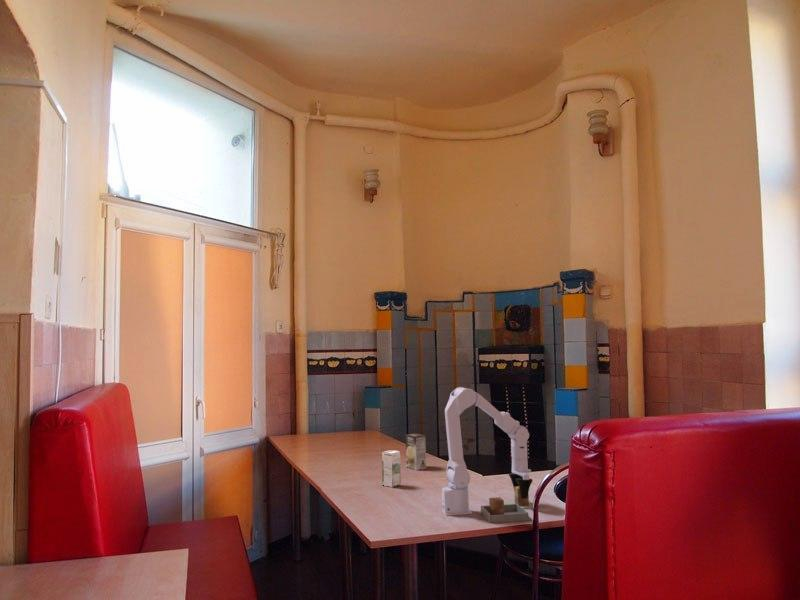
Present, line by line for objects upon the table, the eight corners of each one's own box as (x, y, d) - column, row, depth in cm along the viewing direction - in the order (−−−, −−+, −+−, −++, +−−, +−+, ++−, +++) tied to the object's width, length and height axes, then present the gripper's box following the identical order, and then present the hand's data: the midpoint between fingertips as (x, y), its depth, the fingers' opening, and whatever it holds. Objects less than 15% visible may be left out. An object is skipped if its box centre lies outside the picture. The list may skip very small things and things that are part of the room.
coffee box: (405, 467, 288) (404, 434, 289) (416, 465, 291) (415, 433, 293) (416, 470, 280) (415, 436, 281) (427, 468, 284) (426, 435, 285)
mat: (513, 510, 210) (513, 508, 210) (506, 503, 219) (506, 501, 219) (537, 508, 211) (537, 506, 211) (529, 502, 220) (529, 500, 220)
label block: (518, 506, 212) (517, 488, 213) (515, 503, 216) (514, 486, 217) (529, 505, 213) (528, 488, 213) (525, 502, 217) (524, 485, 217)
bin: (490, 523, 195) (489, 515, 195) (481, 513, 207) (480, 505, 207) (528, 521, 196) (528, 513, 196) (517, 511, 208) (517, 503, 209)
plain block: (492, 518, 199) (492, 500, 200) (489, 515, 203) (489, 497, 204) (504, 518, 200) (503, 500, 200) (501, 514, 204) (500, 497, 204)
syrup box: (390, 483, 256) (389, 449, 257) (401, 485, 252) (400, 450, 253) (382, 486, 251) (381, 451, 252) (392, 487, 247) (391, 453, 249)
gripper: (536, 461, 209) (538, 500, 208) (523, 453, 224) (525, 490, 222) (517, 462, 208) (519, 501, 207) (505, 454, 223) (507, 491, 222)
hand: (521, 495), depth 215 cm, fingers open, 7 cm apart
